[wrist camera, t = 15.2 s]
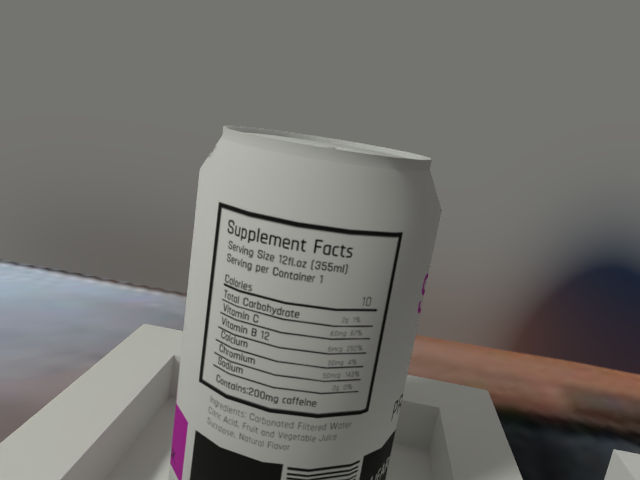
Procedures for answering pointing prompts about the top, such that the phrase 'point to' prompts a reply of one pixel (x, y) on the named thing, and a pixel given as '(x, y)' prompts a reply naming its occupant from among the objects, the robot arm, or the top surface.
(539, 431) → the top surface
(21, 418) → the top surface
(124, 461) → the tray
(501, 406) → the top surface
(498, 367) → the top surface
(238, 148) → the supplement can
